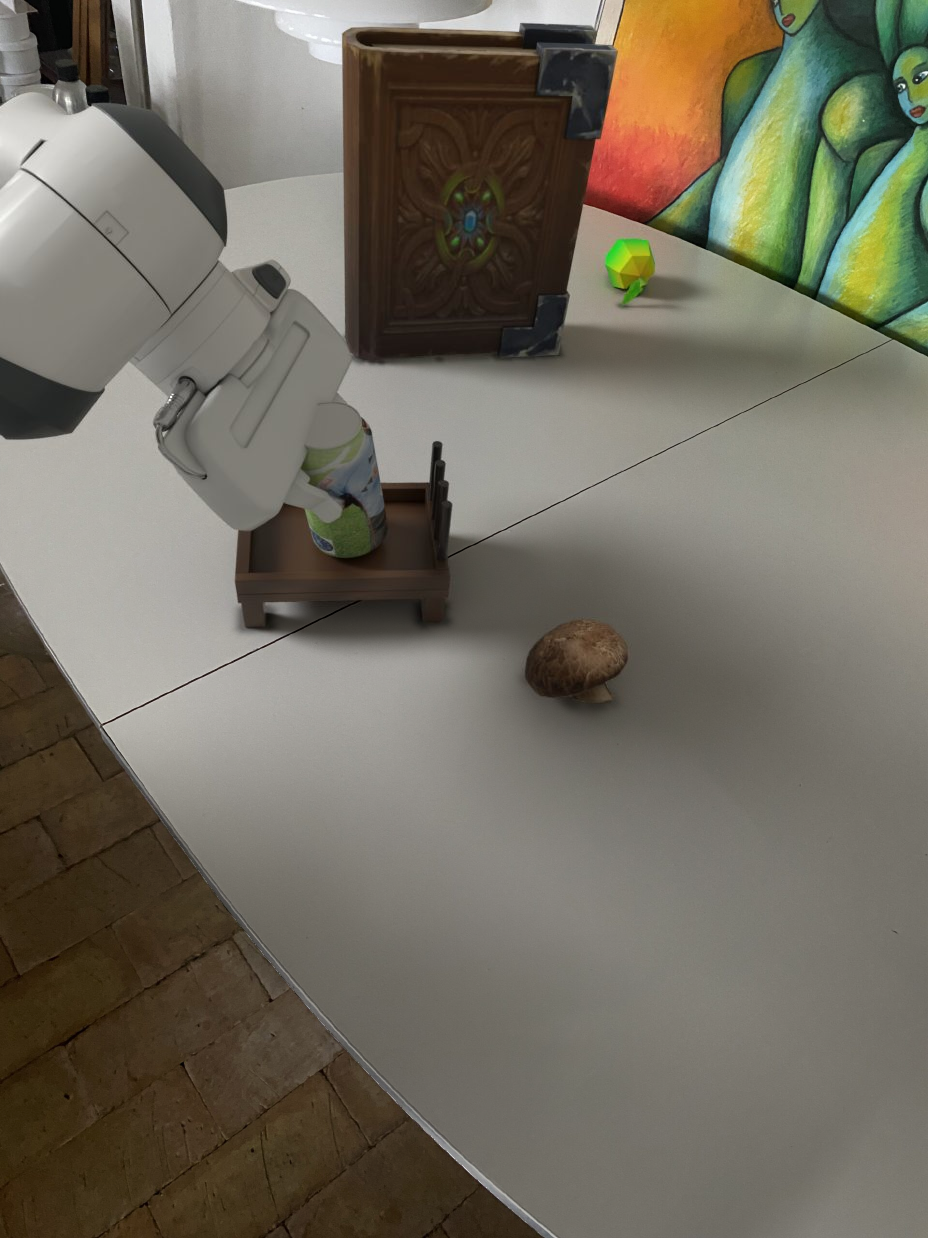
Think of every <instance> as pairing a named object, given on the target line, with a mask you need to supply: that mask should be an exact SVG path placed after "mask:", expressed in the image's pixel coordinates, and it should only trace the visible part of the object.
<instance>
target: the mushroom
mask: <svg viewBox="0 0 928 1238" xmlns="http://www.w3.org/2000/svg"><path fill="white" fill-rule="evenodd" d="M526 656H527V657H526V661H525V668H524V678H525V681H526V683H527V684H528V686H529V687H530V688H531V689H532V691H534V692H535V694H536V695H538V696H540V697H541V698H542V697H543V698H551V699H558V698H567V697H571V698H572V699H573V700H574V701H577V702H582V703H590V704H592V703H593V704H600V703H601V704H602V703H608V702H612V701H614V700H615V698H616V697H615V695H614V694H613V692H612V691H611V690H610V688H609V686H608V685H607V683H608V682H609V681H611V680H613V679H615V678H617V677H619V675H621V673H622V671H623V670H624V668H625V667H626V665H627V663H628V660H629V652H628V644H627V641H626V640H625V638H623V636H622V635H621V634H620V633H619V632H618V631H617V630H616V629H615V628H613V627H612V626H611V625H610V624H608V623H606V622H603V621H598V620H592V619H587V618H581V619H580V618H579V619H573V620H570V621H567V622H565V623H561V624H559V625H557V626H555V627H554V628H552V629H551V630H549V631H548V632H546V633H545V634H544V635H542V636H541V637H540V638H539V639H538V640H537V641H536V642H535V643H534V645H533V646H532V647H531V648H530V650H529V652H528V653H527V655H526Z"/></svg>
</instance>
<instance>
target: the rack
mask: <svg viewBox="0 0 928 1238" xmlns="http://www.w3.org/2000/svg"><path fill="white" fill-rule="evenodd" d="M443 446H444V445H443V442H441V441H439V440H435V441H433V442H432V445H431V457H430V467H429V469H430V470H429V481H427V482H421V481H420V482H381V488H382V494H383V500H384V505H385V511H386V517H387V523H388V530H387V534H386V536H385V538H384V540H383V541H382V542H381V544H380V545H379V546H377V547H376V548H375V549H374V550H372V551H370V552H368V553H366V554H364V555H361V556H358V557H352V558H339V557H334V556H331V555H328V554H326V553H324V552H323V551H321V550H320V549H319V548H318V547H317V546H316V544H315V543H314V540H313V537H312V534H311V530H310V527H309V523H308V519H307V516H306V512H305V509H304V508H300V507H296V506H293V505H289V504H285V503H283V505H282V507H281V509H280V511H279V513H278V514H277V515H276V516H274V517H273V518H272V519H270V520H269V521H267V522H266V523H264V524H262V525H261V526H259V527H257V528H256V529H254V530H252V531H241V530H237V539H236V540H237V542H236V556H235V571H234V584H235V586H234V587H235V591H236V592H235V593H236V600H237V603H238V604H240V605H241V611H242V612H241V613H242V617H243V625H244V628H260V627H262V628H263V627H266V623H267V621H266V620H267V609H266V604H267V603H296V602H297V603H300V602H303V603H304V602H305V603H306V602H340V601H377V600H378V601H379V600H380V601H382V600H413V599H414V600H417V599H418V600H419V599H421V607H420V609H421V617H422V622H423V623H434V622H436V623H437V622H443V619H444V613H445V612H444V611H445V605H446V604H445V603H446V599H448V598H449V593H450V586H451V585H450V584H451V577H452V576H451V570H450V569H451V568H450V563H449V556H448V549H449V543H450V542H449V541H450V533H451V522H452V513H453V502H451V501H450V500H448V499H449V491H450V489H449V488H450V482H449V481H448V480H446V479H445V477H446V476H445V475H446V461H445V460H444V459H442V458H443V457H442V455H443Z"/></svg>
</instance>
